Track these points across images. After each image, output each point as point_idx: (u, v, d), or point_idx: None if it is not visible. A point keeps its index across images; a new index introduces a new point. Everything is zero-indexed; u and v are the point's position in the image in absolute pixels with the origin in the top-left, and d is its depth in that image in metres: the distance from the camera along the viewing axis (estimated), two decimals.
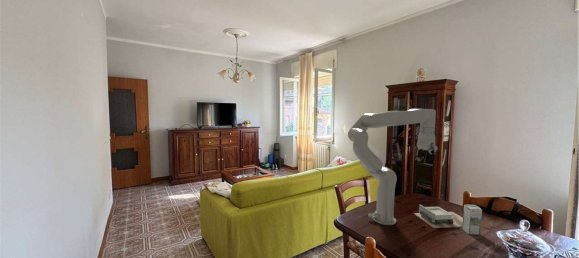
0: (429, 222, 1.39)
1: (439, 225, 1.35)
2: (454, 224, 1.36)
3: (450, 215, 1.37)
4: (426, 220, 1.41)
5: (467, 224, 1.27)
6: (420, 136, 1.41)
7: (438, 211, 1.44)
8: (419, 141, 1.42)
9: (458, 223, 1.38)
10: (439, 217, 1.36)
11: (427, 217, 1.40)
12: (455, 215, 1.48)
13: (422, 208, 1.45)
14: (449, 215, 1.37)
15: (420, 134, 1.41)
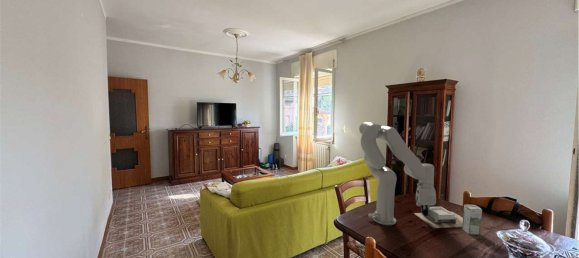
0: (429, 222, 1.39)
1: (439, 225, 1.35)
2: (454, 224, 1.36)
3: (453, 215, 1.37)
4: (426, 220, 1.41)
5: (467, 224, 1.27)
6: (425, 193, 1.38)
7: (441, 211, 1.44)
8: (424, 198, 1.38)
9: (458, 223, 1.38)
10: (442, 217, 1.36)
11: (430, 217, 1.41)
12: (455, 215, 1.48)
13: None
14: (452, 215, 1.37)
15: (425, 191, 1.38)
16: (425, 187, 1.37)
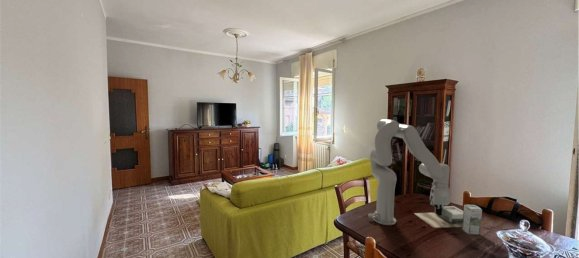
0: (429, 222, 1.39)
1: (439, 225, 1.35)
2: (454, 224, 1.36)
3: None
4: (426, 220, 1.41)
5: (467, 224, 1.27)
6: (440, 192, 1.38)
7: (454, 210, 1.45)
8: (439, 197, 1.39)
9: (458, 223, 1.38)
10: (456, 216, 1.37)
11: (443, 216, 1.41)
12: None
13: None
14: None
15: (440, 190, 1.38)
16: (440, 187, 1.38)
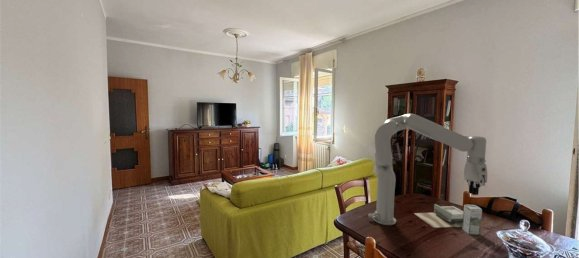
0: (429, 222, 1.39)
1: (439, 225, 1.35)
2: (454, 224, 1.36)
3: None
4: (426, 220, 1.41)
5: (467, 224, 1.27)
6: None
7: (453, 210, 1.45)
8: None
9: (458, 223, 1.38)
10: (455, 216, 1.37)
11: (443, 216, 1.41)
12: None
13: (437, 207, 1.46)
14: None
15: None
16: (484, 161, 1.23)
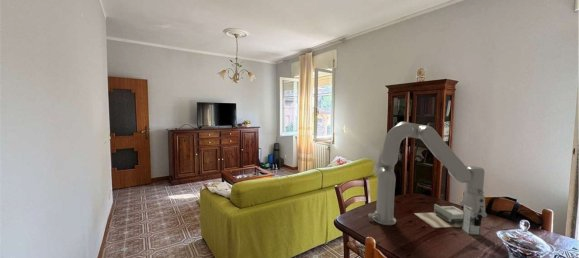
0: (429, 222, 1.39)
1: (439, 225, 1.35)
2: (454, 224, 1.36)
3: None
4: (426, 220, 1.41)
5: (467, 224, 1.27)
6: None
7: (453, 210, 1.45)
8: None
9: (458, 223, 1.38)
10: (455, 216, 1.37)
11: (443, 216, 1.41)
12: None
13: (437, 207, 1.46)
14: None
15: None
16: None
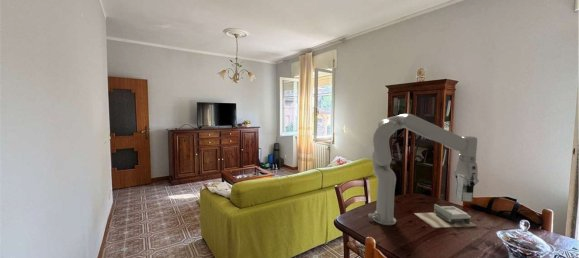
0: (429, 222, 1.39)
1: (439, 225, 1.35)
2: (454, 224, 1.36)
3: (466, 214, 1.38)
4: (426, 220, 1.41)
5: (460, 192, 1.32)
6: None
7: (453, 210, 1.45)
8: None
9: (458, 223, 1.38)
10: (455, 216, 1.37)
11: (443, 216, 1.41)
12: None
13: (437, 207, 1.46)
14: (465, 214, 1.38)
15: None
16: (475, 160, 1.29)
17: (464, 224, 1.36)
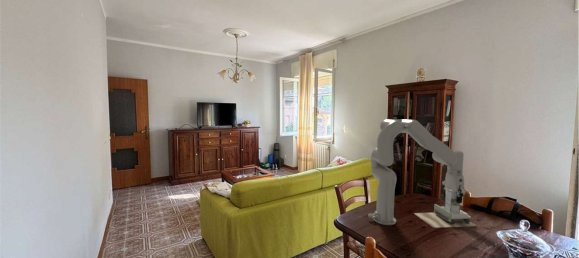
0: (429, 222, 1.39)
1: (439, 225, 1.35)
2: (454, 224, 1.36)
3: (466, 214, 1.38)
4: (426, 220, 1.41)
5: (448, 205, 1.41)
6: None
7: None
8: None
9: (458, 223, 1.38)
10: (455, 216, 1.37)
11: (443, 216, 1.41)
12: None
13: (437, 207, 1.46)
14: (465, 214, 1.38)
15: None
16: None
17: (464, 224, 1.36)
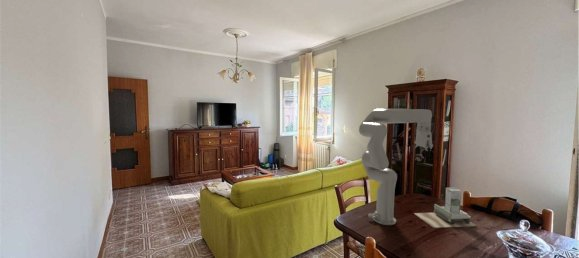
0: (429, 222, 1.39)
1: (439, 225, 1.35)
2: (454, 224, 1.36)
3: (466, 214, 1.38)
4: (426, 220, 1.41)
5: (448, 205, 1.41)
6: None
7: None
8: None
9: (458, 223, 1.38)
10: (455, 216, 1.37)
11: (443, 216, 1.41)
12: None
13: (437, 207, 1.46)
14: (465, 214, 1.38)
15: None
16: (430, 130, 1.50)
17: (464, 224, 1.36)
